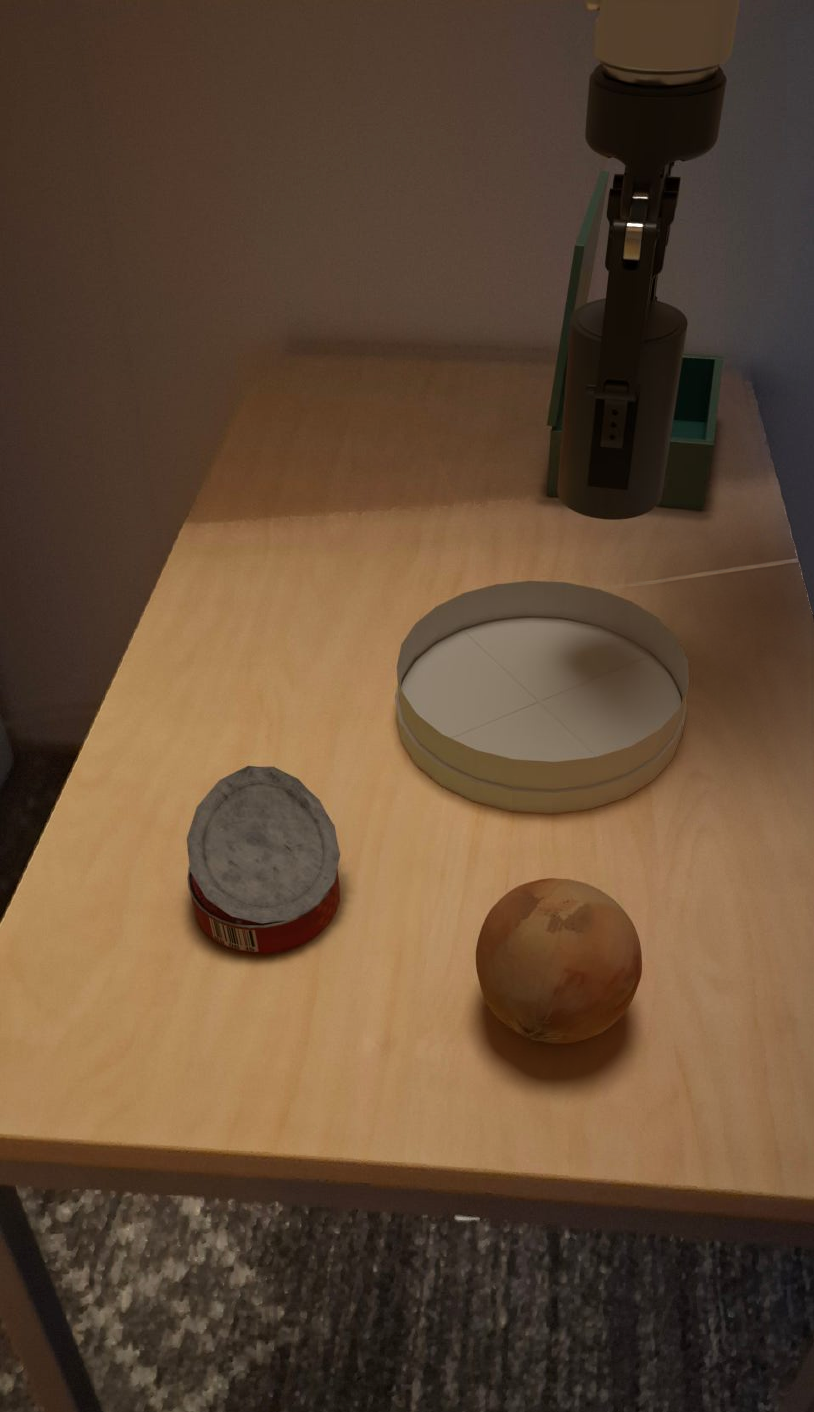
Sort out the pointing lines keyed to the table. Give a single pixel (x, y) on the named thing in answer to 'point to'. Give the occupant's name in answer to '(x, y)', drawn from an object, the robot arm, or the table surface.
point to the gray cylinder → (652, 416)
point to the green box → (676, 435)
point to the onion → (558, 960)
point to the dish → (541, 696)
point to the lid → (578, 287)
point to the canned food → (262, 862)
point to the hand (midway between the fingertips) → (614, 455)
